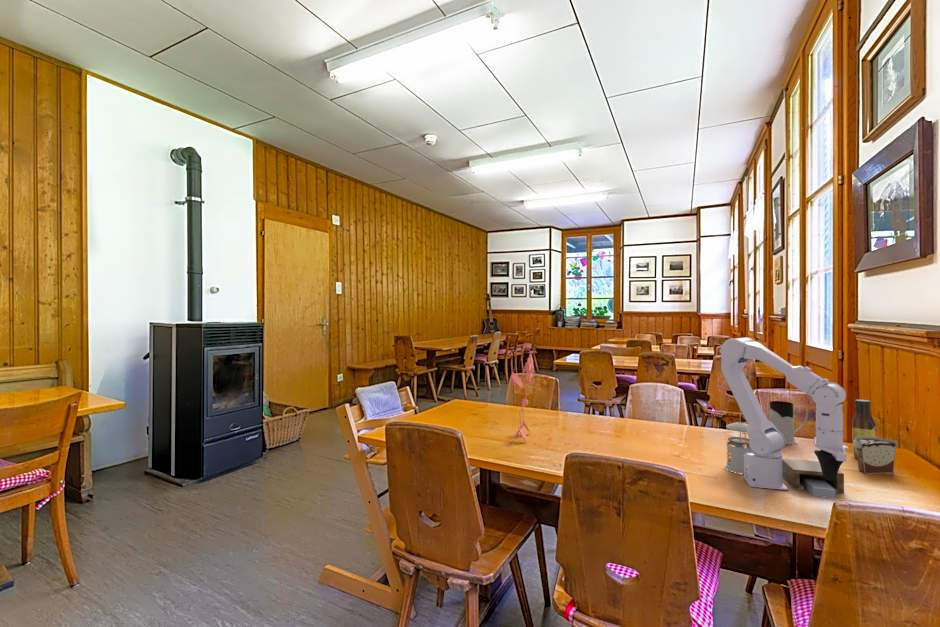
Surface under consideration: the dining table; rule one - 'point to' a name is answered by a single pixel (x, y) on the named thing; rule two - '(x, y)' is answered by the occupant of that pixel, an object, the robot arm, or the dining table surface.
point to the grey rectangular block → (819, 488)
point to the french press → (737, 447)
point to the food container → (875, 454)
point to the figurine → (517, 380)
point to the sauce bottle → (862, 422)
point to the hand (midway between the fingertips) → (829, 479)
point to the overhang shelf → (808, 474)
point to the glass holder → (784, 419)
